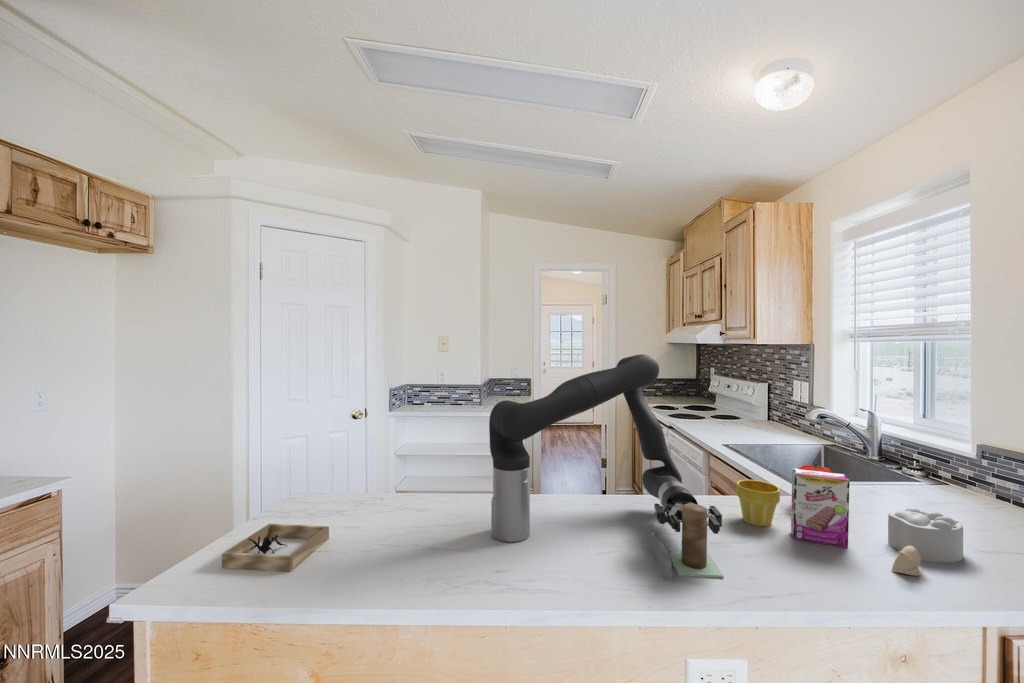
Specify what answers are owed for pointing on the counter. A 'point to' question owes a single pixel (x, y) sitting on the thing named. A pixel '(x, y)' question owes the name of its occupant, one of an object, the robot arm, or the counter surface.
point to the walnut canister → (694, 536)
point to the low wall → (661, 556)
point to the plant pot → (757, 501)
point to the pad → (683, 570)
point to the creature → (265, 544)
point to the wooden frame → (244, 560)
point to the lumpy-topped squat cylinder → (926, 534)
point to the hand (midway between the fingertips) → (697, 528)
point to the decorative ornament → (907, 561)
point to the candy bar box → (820, 507)
